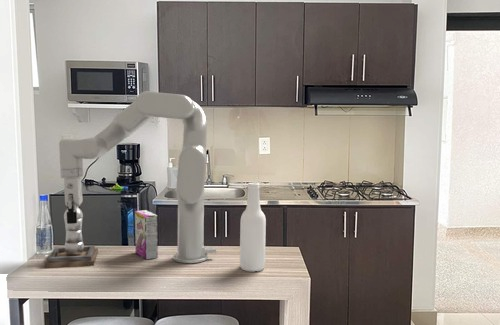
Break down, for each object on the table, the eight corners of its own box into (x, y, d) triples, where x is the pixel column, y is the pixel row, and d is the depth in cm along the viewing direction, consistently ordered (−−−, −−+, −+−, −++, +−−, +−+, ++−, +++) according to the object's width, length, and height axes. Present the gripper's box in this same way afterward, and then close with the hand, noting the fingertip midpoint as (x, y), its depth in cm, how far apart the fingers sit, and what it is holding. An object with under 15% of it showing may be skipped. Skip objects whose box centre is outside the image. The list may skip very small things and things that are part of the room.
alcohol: (263, 273, 156) (265, 185, 153) (237, 271, 157) (239, 184, 154) (266, 265, 164) (267, 182, 162) (241, 263, 166) (243, 181, 163)
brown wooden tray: (97, 252, 176) (97, 244, 176) (93, 265, 161) (93, 256, 160) (53, 254, 173) (53, 246, 172) (44, 267, 157) (44, 259, 157)
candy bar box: (134, 252, 177) (134, 210, 175) (146, 251, 180) (146, 209, 178) (145, 260, 168) (145, 216, 166) (158, 258, 170) (158, 214, 169)
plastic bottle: (77, 257, 164) (76, 202, 162) (60, 256, 165) (59, 201, 163) (87, 252, 170) (86, 199, 168) (70, 251, 172) (70, 198, 170)
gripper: (79, 175, 156) (82, 224, 158) (85, 170, 173) (87, 215, 175) (56, 176, 155) (58, 226, 156) (64, 171, 171) (66, 216, 173)
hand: (74, 220), depth 165 cm, fingers open, 9 cm apart
